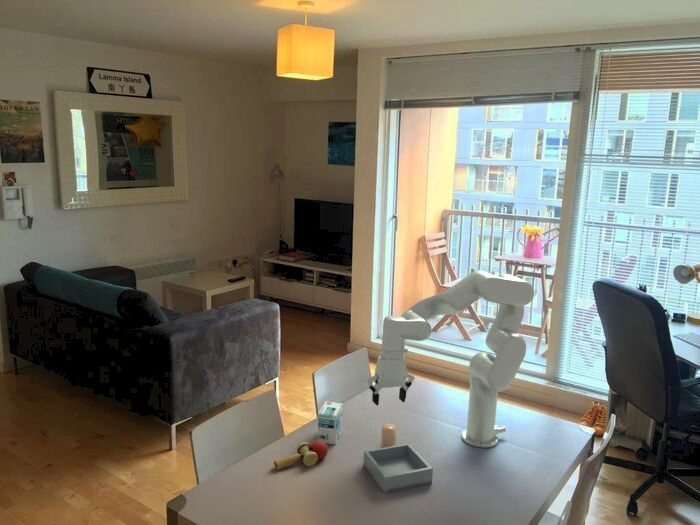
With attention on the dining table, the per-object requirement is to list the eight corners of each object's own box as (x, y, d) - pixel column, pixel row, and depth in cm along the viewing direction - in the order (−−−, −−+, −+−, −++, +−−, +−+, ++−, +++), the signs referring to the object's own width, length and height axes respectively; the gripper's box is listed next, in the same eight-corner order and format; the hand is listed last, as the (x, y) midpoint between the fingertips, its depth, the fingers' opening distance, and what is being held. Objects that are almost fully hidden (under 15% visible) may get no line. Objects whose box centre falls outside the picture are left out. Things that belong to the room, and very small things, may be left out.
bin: (408, 457, 188) (408, 443, 187) (431, 483, 173) (433, 468, 172) (363, 465, 182) (364, 450, 181) (384, 493, 167) (385, 477, 167)
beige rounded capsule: (391, 444, 196) (392, 422, 194) (397, 451, 191) (399, 429, 190) (378, 446, 194) (379, 424, 193) (384, 453, 190) (385, 431, 188)
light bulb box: (335, 445, 194) (336, 415, 192) (316, 442, 195) (317, 413, 193) (342, 430, 204) (343, 402, 202) (324, 428, 206) (325, 400, 204)
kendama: (282, 480, 175) (333, 459, 183) (278, 461, 174) (330, 440, 182) (273, 472, 181) (323, 452, 190) (269, 453, 181) (319, 434, 189)
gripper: (410, 347, 193) (406, 395, 196) (363, 351, 187) (360, 400, 190) (421, 355, 186) (417, 404, 189) (373, 359, 180) (369, 409, 183)
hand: (388, 402), depth 189 cm, fingers open, 9 cm apart
